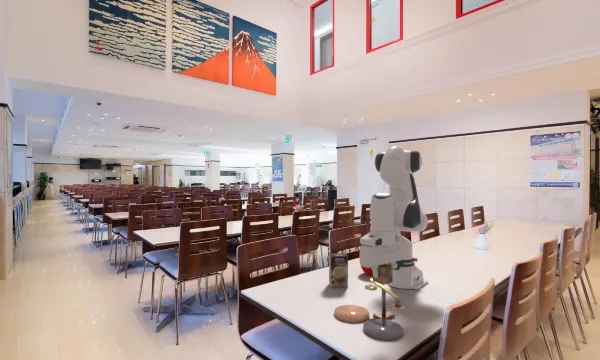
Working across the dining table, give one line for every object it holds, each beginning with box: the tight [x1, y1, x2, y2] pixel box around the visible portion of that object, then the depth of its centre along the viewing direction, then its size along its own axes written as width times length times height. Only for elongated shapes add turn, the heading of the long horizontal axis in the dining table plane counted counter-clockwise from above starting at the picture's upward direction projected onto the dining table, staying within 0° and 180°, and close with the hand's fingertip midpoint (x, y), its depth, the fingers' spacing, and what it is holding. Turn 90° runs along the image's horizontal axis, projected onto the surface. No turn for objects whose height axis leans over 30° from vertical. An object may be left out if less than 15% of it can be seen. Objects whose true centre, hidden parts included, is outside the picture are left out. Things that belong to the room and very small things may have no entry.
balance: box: [364, 278, 406, 320], centre depth 122 cm, size 7×18×14 cm, turn 35°
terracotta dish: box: [333, 304, 370, 324], centre depth 124 cm, size 14×14×1 cm
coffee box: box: [328, 253, 349, 288], centre depth 159 cm, size 9×6×16 cm
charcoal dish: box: [362, 318, 404, 342], centre depth 111 cm, size 14×14×1 cm
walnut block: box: [372, 264, 393, 286], centre depth 111 cm, size 5×5×6 cm
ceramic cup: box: [360, 265, 373, 276], centre depth 180 cm, size 13×17×10 cm
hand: (382, 275), depth 111 cm, fingers closed on walnut block, 5 cm apart
